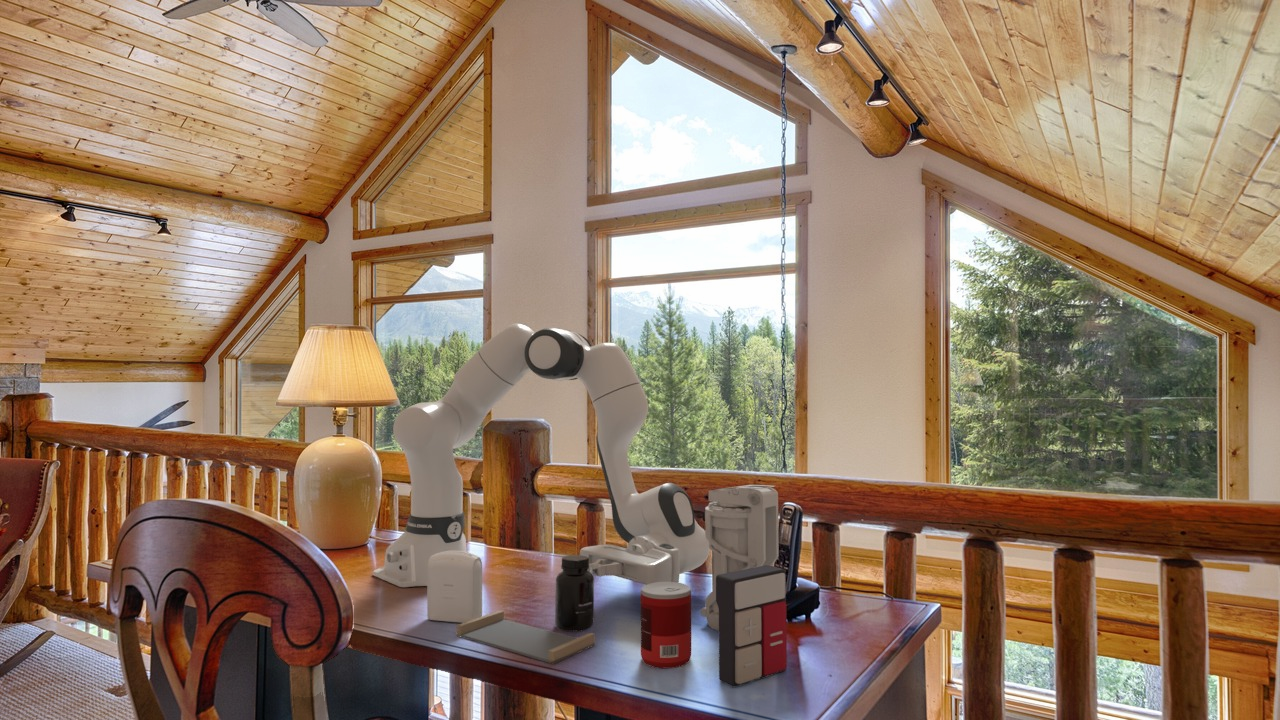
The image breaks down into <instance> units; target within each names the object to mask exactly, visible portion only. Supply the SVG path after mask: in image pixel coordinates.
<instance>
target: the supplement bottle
mask: <svg viewBox="0 0 1280 720" xmlns="http://www.w3.org/2000/svg"><path fill="white" fill-rule="evenodd" d="M560 568H561V570H562V571H560V572H559V573H558V574H557V575H556V577H555V593H554V594H555V596H554V597H555V600H554V601H555V602H554V603H555V606H554V610H555V611H554V616H555V617H554V621H555V622H554V624H555V626H556V628H557V629H559V630H561V631H566V632H581V630H582V631H586V630H589V629H590V628H592V626H593V625H594V610H595V608H594V607H595V606H594V605H595V604H594V601H595V578H594V576H593V575H592V574H591V573H590V572H589V571H588V568H589V558H588V557H587V556H583V555H580V554H571V555H564V556H563V557H561V565H560Z"/></svg>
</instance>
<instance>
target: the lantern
mask: <svg viewBox="0 0 1280 720" xmlns="http://www.w3.org/2000/svg"><path fill="white" fill-rule="evenodd" d="M775 487H777V485H766V484H745V485H739V486H732V487H724V488H718V489H712V490H708V502H709V503H708V505H707V506H705V508H704V509H705V512H704V514H705V515H704V520H705V521H704V527H705V529H704V530H705V536H706V538H707V540H708V541H709V548H710V551H711V584H712V585H711V586H712V587H711V589H712V590H711V592H710V593H709V594H708V595H707V597H705V599H704V600H705V607H702V608H701V609H700V614H701V616H702V617H703V618H706V621H707V625H708V627H710V628H711V629H713V630H715V631H718V632H719V608H718V605H717V602H716V576H717V575H719V574H724V573H729V572H734V571H739V570H744V569H749V568H754V567H759V566H764V565H770V566H773V565H774V563H776V561H777V559H778V558H779V555H780V554H779V543H780V542H779V540H780V539H779V493H778V491H777V489H775Z"/></svg>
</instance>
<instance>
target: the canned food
mask: <svg viewBox="0 0 1280 720" xmlns="http://www.w3.org/2000/svg"><path fill="white" fill-rule="evenodd" d="M640 656H641V661H642V662H643V663H644V664H646V665H647V666H649V665H650V667H652V666H653V668H657V667H658V668H659V669H674V668H675V669H676V668H679V666H680V667H682V665H683V666H685V665H687V663H689V662H690V659H691V656H692V588H691V586H689V585H688V584H685V583H682V582H678V583H677V582H655V583H650V584H647V585H646V584H644V585H643V586H641V588H640Z"/></svg>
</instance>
